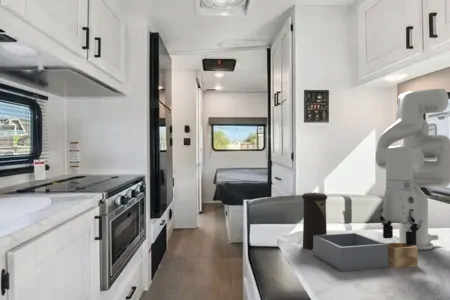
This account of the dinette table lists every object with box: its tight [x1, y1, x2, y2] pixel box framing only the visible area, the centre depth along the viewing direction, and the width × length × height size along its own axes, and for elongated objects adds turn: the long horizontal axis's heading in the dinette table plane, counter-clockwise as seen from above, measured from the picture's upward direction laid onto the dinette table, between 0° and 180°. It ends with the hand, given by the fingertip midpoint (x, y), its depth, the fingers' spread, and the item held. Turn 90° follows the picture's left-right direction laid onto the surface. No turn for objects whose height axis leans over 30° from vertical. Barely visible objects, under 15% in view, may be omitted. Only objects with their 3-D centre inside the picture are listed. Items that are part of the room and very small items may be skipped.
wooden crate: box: [384, 242, 419, 269], centre depth 109 cm, size 8×6×6 cm
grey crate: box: [312, 232, 389, 273], centre depth 111 cm, size 16×16×7 cm
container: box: [301, 192, 328, 251], centre depth 128 cm, size 9×9×20 cm
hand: (398, 241), depth 108 cm, fingers open, 9 cm apart
